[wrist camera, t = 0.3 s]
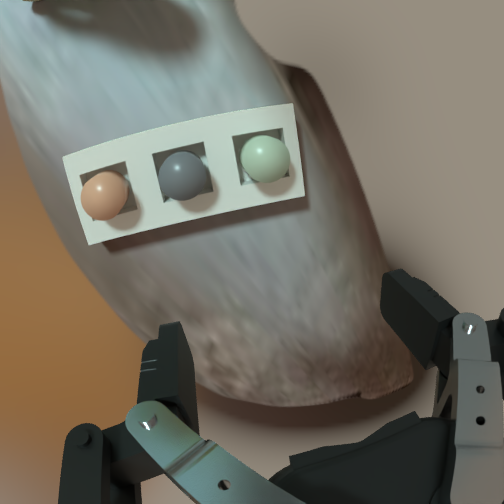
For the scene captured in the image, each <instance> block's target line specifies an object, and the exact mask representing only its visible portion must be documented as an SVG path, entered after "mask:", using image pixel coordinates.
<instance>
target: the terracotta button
mask: <svg viewBox="0 0 504 504" xmlns="http://www.w3.org/2000/svg"><path fill="white" fill-rule="evenodd" d="M128 197H129V184H128V182H127V180H126V178H125V177H124V176H123V175H122V174H121V173H119V172H117V171H114V170H105V171H102V172H100V173H98V174H97V175H95V176H94V177H93V178H91V179H90V180H88V181H87V182H86V183H85V185H84V186H83V188H82V191H81V204H82V207H83V209H84V211H85V212H86V213H87V214H88V215H89V216H90V217H92V218H93V219H96V220H100V221H106V220H109V219H112V218H114V217H115V216H116V215H117V214H118V213H119V212H120V210H121V209H122V207H123V206H124V205H125V203H126V202H127V200H128Z"/></svg>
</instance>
